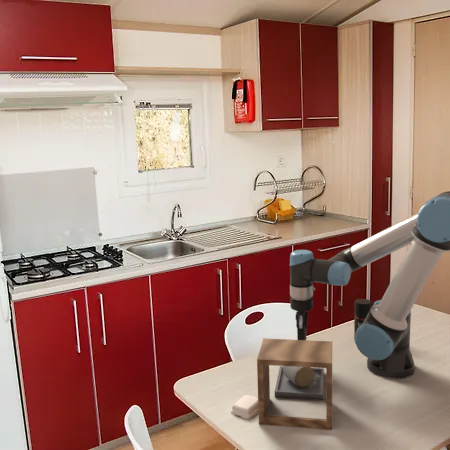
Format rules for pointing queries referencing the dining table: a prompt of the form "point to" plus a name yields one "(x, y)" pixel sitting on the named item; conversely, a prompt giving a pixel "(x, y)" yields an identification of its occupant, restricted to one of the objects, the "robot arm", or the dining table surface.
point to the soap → (246, 407)
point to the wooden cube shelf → (300, 357)
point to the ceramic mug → (300, 375)
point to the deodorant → (361, 312)
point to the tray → (293, 391)
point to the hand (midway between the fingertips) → (302, 363)
